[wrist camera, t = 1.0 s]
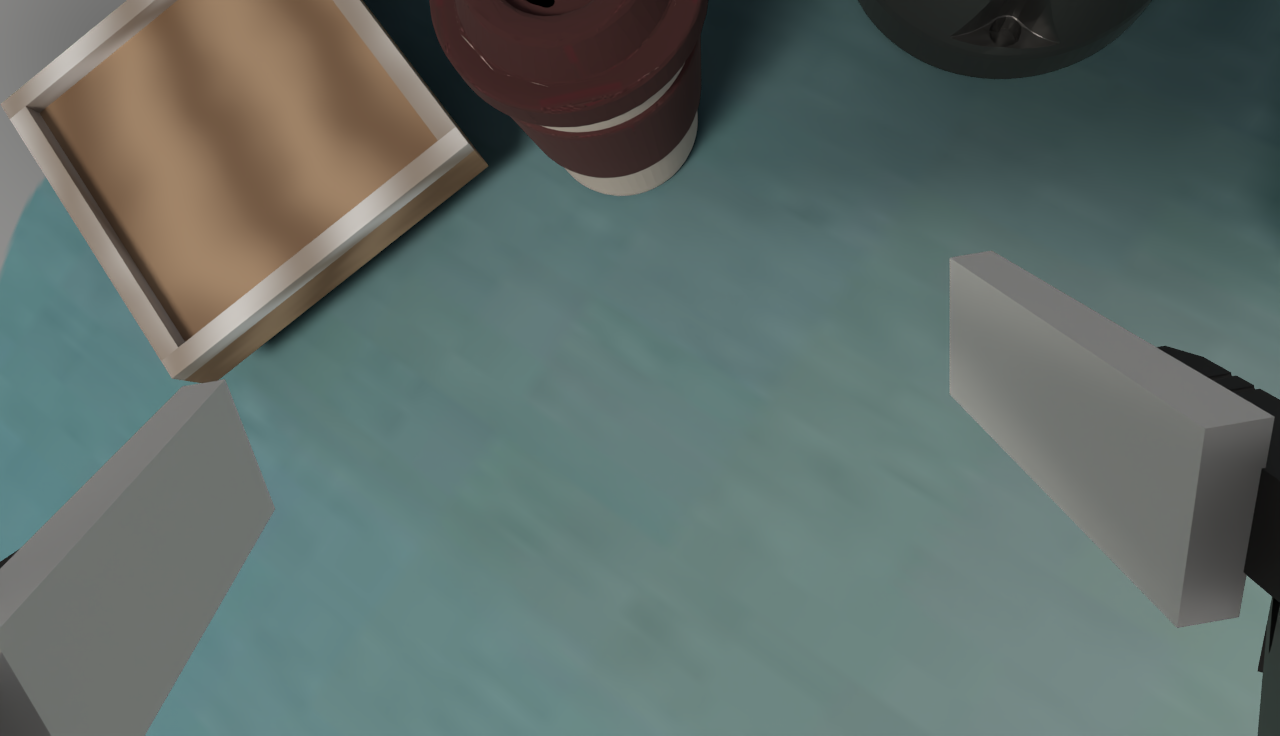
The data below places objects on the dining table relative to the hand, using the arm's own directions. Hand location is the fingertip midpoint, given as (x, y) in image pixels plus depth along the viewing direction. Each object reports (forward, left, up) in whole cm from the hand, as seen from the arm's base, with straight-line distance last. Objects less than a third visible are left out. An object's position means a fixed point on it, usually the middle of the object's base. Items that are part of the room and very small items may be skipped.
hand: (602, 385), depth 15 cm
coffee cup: (-6, -15, -25) cm, 30 cm away
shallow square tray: (+9, -25, -25) cm, 36 cm away
